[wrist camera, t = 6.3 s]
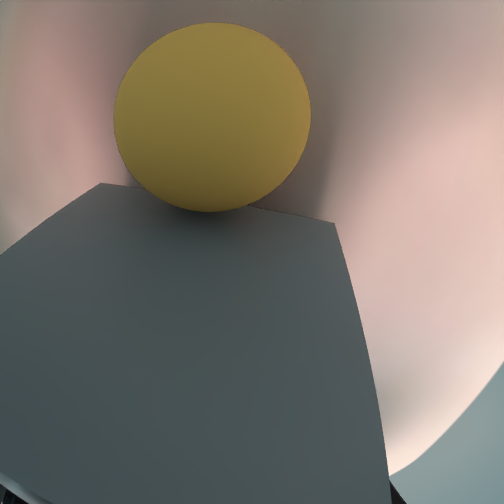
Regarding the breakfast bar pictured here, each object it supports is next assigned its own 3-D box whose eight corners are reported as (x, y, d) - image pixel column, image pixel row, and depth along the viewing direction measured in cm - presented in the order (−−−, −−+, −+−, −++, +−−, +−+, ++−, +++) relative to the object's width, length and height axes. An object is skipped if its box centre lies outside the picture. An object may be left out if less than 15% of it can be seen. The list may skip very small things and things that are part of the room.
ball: (324, 169, 5) (334, 5, 6) (42, 132, 5) (142, -11, 6) (281, 252, 9) (302, 118, 11) (122, 220, 9) (168, 98, 11)
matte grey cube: (282, 381, 13) (265, 575, 6) (117, 344, 14) (36, 508, 6) (334, 223, 10) (393, 554, 2) (100, 183, 10) (-110, 369, 2)
